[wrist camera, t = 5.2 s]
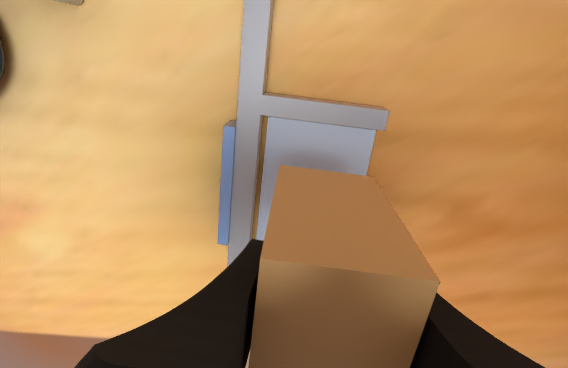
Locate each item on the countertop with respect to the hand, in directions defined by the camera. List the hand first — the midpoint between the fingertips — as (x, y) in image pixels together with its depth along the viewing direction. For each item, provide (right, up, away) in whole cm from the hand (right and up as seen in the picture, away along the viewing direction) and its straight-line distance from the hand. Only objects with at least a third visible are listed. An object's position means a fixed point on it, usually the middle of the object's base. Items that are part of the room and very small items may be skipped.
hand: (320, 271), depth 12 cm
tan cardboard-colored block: (0, +1, +3) cm, 3 cm away
